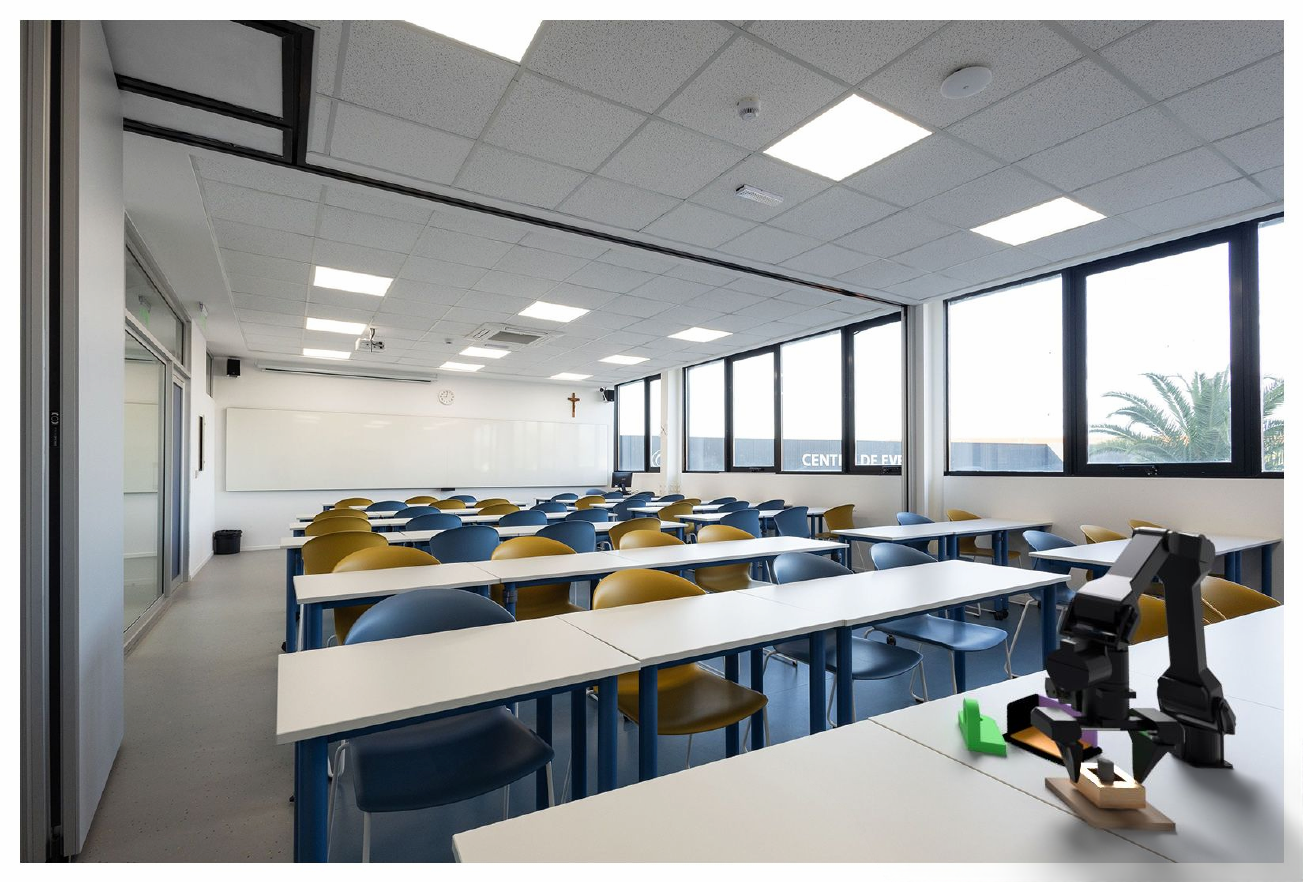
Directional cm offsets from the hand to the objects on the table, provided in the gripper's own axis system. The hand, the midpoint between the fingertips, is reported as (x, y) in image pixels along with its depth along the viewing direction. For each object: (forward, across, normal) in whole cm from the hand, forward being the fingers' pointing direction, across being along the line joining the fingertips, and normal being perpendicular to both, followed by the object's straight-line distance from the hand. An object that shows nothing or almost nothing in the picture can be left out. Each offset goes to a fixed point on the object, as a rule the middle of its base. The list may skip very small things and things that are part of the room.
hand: (1105, 781), depth 88 cm
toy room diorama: (+4, -4, -19) cm, 20 cm away
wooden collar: (+2, 0, 0) cm, 2 cm away
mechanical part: (+4, +7, -22) cm, 23 cm away
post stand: (+4, 0, 0) cm, 4 cm away
